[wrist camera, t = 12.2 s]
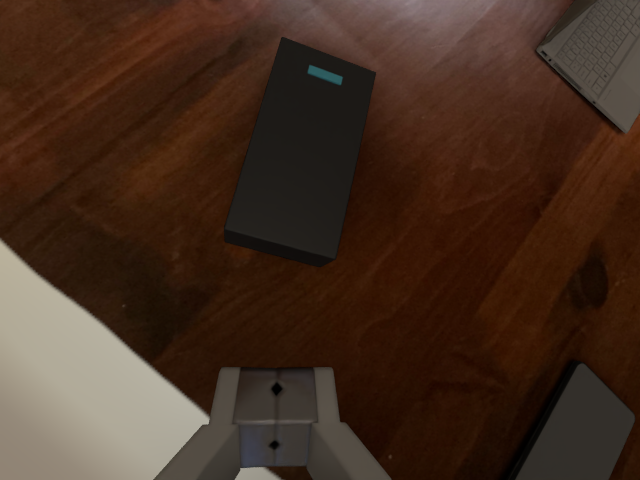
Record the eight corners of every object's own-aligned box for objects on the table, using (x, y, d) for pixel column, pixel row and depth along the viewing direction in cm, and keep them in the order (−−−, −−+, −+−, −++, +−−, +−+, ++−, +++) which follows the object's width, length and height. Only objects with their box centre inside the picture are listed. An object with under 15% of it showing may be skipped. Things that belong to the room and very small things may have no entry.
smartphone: (638, 416, 29) (555, 601, 25) (627, 413, 30) (544, 591, 25) (580, 357, 29) (484, 532, 24) (570, 356, 30) (476, 525, 25)
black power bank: (336, 259, 22) (377, 70, 26) (223, 228, 21) (282, 34, 24) (320, 267, 26) (356, 104, 30) (224, 242, 25) (274, 74, 29)
